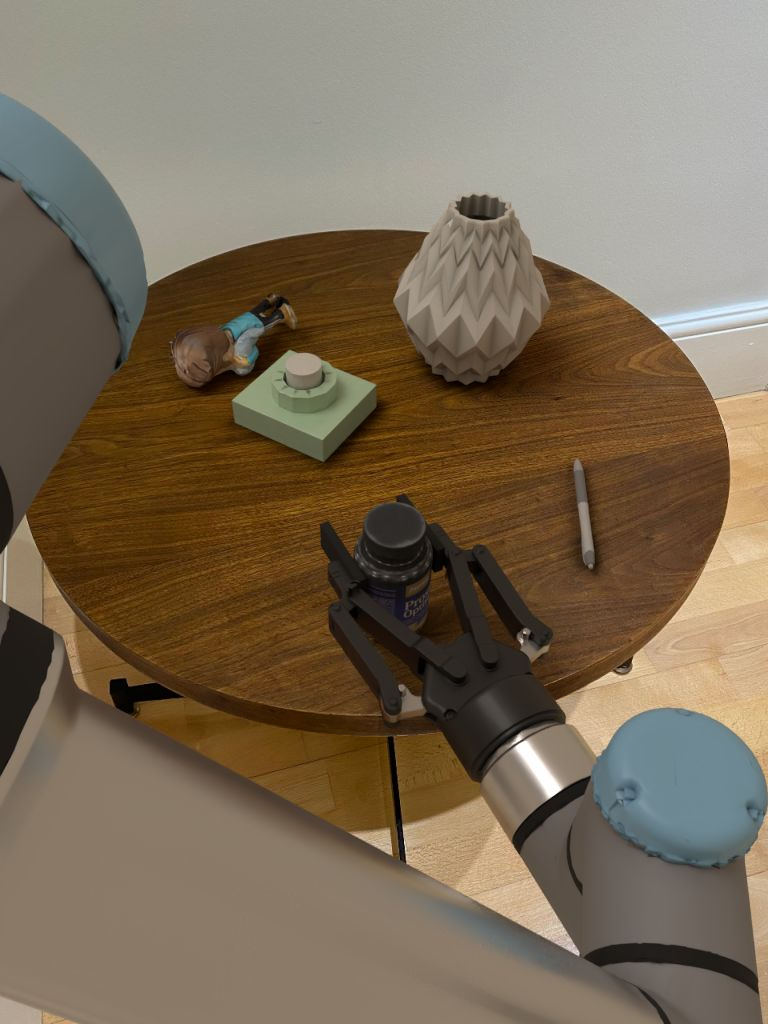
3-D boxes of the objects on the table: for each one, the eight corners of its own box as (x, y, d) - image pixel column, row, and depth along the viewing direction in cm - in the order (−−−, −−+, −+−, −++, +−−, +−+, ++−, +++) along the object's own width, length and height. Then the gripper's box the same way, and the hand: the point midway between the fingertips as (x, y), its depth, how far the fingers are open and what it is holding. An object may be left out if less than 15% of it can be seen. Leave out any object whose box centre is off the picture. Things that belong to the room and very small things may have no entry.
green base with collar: (234, 422, 90) (229, 384, 86) (290, 371, 96) (288, 334, 92) (323, 462, 86) (322, 424, 83) (376, 407, 92) (377, 369, 88)
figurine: (162, 372, 95) (152, 326, 91) (273, 316, 103) (269, 271, 98) (204, 405, 92) (196, 358, 87) (315, 345, 99) (313, 298, 95)
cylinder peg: (279, 383, 87) (277, 367, 86) (299, 364, 89) (298, 348, 88) (309, 396, 86) (308, 379, 84) (329, 376, 88) (328, 360, 87)
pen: (583, 574, 77) (586, 564, 76) (570, 465, 87) (572, 454, 86) (594, 575, 77) (597, 565, 76) (580, 465, 87) (583, 455, 86)
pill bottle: (414, 653, 70) (421, 565, 62) (342, 632, 71) (340, 543, 63) (436, 595, 74) (445, 506, 66) (368, 576, 75) (369, 486, 67)
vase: (551, 338, 101) (581, 185, 87) (513, 425, 91) (541, 266, 77) (419, 306, 105) (428, 155, 91) (368, 386, 94) (370, 229, 81)
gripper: (392, 843, 57) (256, 590, 70) (626, 723, 63) (459, 512, 77) (396, 791, 51) (248, 528, 65) (652, 665, 57) (467, 449, 71)
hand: (363, 520), depth 71 cm, fingers closed on pill bottle, 6 cm apart
